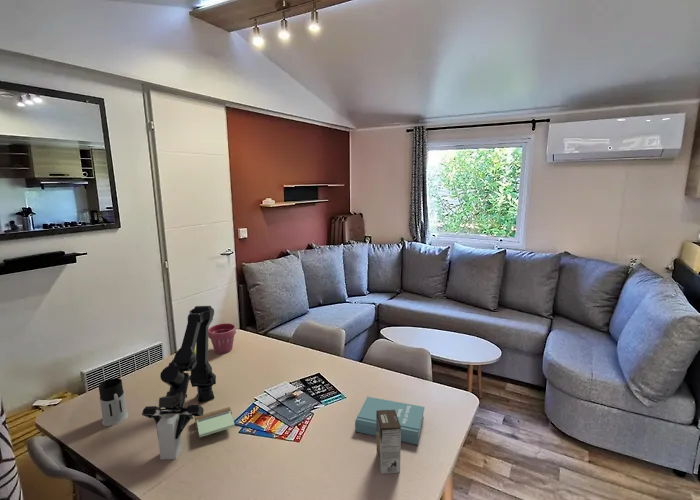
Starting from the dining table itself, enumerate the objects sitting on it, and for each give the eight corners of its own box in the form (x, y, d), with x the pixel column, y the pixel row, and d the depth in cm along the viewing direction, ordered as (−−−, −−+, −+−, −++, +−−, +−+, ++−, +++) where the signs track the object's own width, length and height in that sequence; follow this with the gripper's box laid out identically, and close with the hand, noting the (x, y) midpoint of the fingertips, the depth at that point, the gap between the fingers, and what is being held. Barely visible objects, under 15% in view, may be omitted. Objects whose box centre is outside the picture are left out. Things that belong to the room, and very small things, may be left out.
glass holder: (125, 408, 149) (120, 375, 146) (135, 424, 139) (130, 388, 136) (99, 418, 143) (94, 383, 140) (108, 436, 133) (102, 398, 130)
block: (167, 448, 126) (163, 414, 124) (182, 448, 126) (178, 414, 124) (160, 459, 121) (156, 424, 119) (176, 459, 121) (172, 424, 119)
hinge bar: (195, 422, 140) (194, 416, 139) (230, 412, 146) (229, 406, 145) (196, 428, 136) (195, 422, 136) (232, 418, 142) (231, 412, 142)
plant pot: (204, 355, 195) (202, 332, 192) (218, 343, 208) (216, 322, 206) (229, 356, 192) (227, 334, 190) (241, 345, 206) (240, 323, 204)
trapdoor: (196, 422, 136) (196, 419, 136) (230, 413, 141) (230, 410, 141) (199, 437, 128) (199, 434, 128) (234, 426, 133) (234, 423, 133)
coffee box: (375, 453, 123) (375, 409, 120) (394, 451, 123) (395, 408, 120) (380, 474, 114) (380, 428, 111) (400, 472, 114) (401, 426, 111)
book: (424, 418, 141) (424, 406, 140) (417, 447, 126) (418, 434, 125) (367, 407, 148) (367, 396, 147) (355, 433, 133) (355, 421, 132)
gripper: (141, 385, 123) (127, 437, 114) (197, 383, 124) (187, 434, 115) (155, 393, 132) (143, 441, 123) (207, 391, 133) (199, 439, 124)
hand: (167, 439), depth 121 cm, fingers closed on block, 5 cm apart
